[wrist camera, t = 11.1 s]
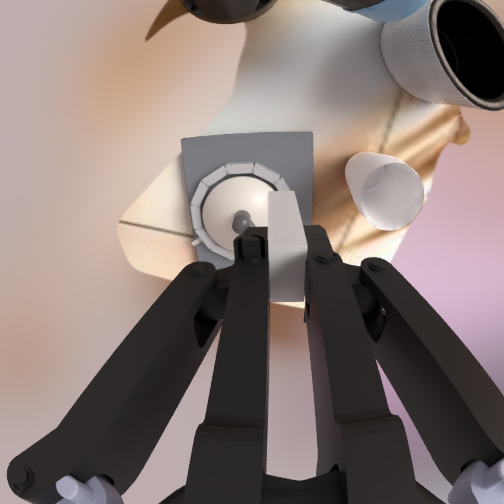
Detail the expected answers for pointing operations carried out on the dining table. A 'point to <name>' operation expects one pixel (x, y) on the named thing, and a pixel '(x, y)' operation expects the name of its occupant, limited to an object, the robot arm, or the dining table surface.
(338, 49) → the dining table surface
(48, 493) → the robot arm
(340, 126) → the dining table surface
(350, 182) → the cup
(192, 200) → the panel
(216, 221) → the dial
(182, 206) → the dining table surface
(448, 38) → the planter
